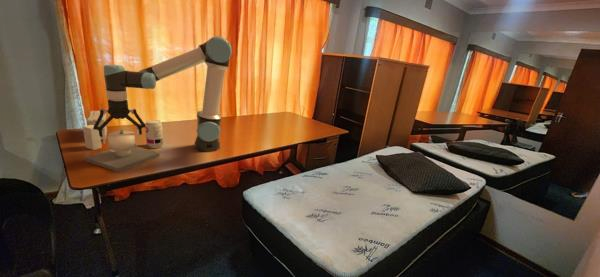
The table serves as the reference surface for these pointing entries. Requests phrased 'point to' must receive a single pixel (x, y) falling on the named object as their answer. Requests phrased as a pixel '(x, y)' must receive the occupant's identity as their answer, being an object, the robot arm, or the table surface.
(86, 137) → the skincare box
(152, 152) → the base
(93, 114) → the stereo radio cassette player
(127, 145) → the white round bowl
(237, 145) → the table surface
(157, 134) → the supplement can
